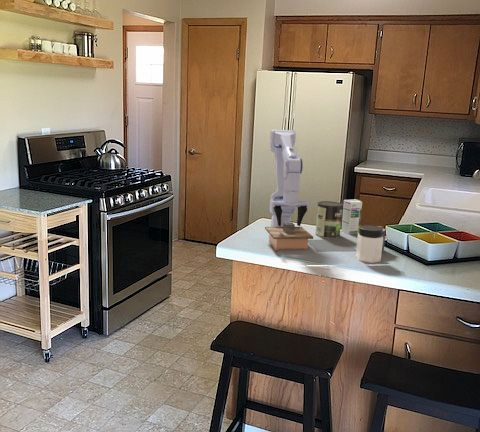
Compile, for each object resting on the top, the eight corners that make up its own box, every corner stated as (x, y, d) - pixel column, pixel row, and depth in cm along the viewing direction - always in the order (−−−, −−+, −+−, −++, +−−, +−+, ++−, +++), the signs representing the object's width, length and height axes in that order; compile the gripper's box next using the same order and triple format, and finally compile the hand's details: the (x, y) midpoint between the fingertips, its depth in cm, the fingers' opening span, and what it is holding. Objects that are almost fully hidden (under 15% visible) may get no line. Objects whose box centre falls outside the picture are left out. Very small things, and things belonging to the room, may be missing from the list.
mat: (304, 241, 203) (304, 239, 203) (342, 240, 206) (342, 239, 206) (317, 253, 188) (317, 251, 187) (358, 252, 190) (358, 251, 190)
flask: (378, 250, 195) (382, 223, 192) (386, 252, 193) (389, 224, 191) (367, 255, 188) (370, 227, 186) (374, 256, 186) (377, 228, 184)
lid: (264, 228, 199) (265, 218, 199) (301, 228, 202) (302, 218, 201) (273, 239, 185) (274, 228, 184) (313, 238, 188) (314, 228, 187)
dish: (268, 241, 199) (269, 229, 198) (298, 241, 201) (299, 229, 200) (276, 250, 188) (276, 238, 187) (307, 250, 190) (308, 237, 189)
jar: (367, 265, 176) (371, 232, 173) (350, 258, 183) (353, 226, 180) (385, 261, 181) (389, 229, 178) (368, 255, 187) (371, 224, 185)
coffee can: (343, 236, 213) (346, 203, 210) (334, 241, 205) (337, 207, 202) (320, 231, 219) (323, 199, 215) (311, 236, 210) (313, 203, 207)
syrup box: (348, 235, 215) (351, 201, 212) (340, 231, 220) (343, 199, 217) (359, 234, 217) (363, 201, 214) (351, 231, 222) (355, 198, 219)
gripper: (275, 192, 185) (272, 228, 188) (313, 192, 187) (310, 228, 190) (270, 188, 191) (268, 223, 194) (307, 189, 194) (304, 223, 197)
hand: (288, 225), depth 193 cm, fingers open, 7 cm apart
